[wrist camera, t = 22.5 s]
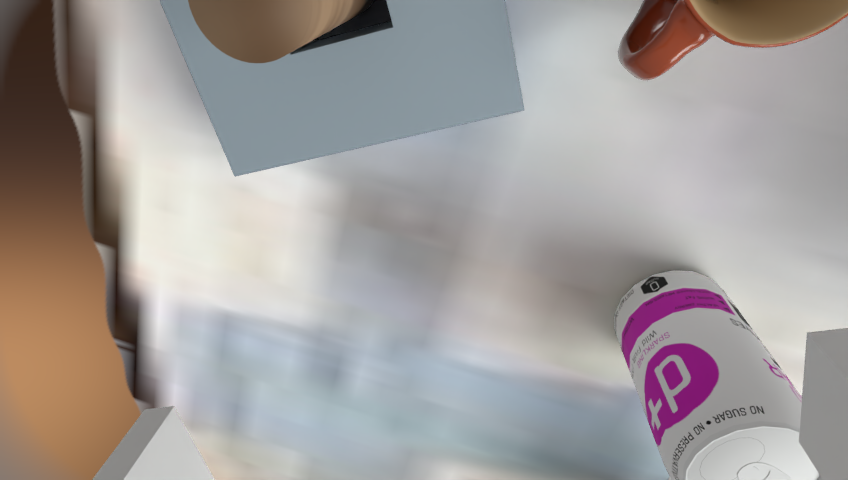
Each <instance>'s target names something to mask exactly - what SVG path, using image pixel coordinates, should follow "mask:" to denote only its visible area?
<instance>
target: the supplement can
mask: <svg viewBox="0 0 848 480" xmlns="http://www.w3.org/2000/svg"><path fill="white" fill-rule="evenodd" d="M614 330H615V333H616V335H617V338H618V341H619V343H620V346H621V349H622V352H623V354H624V357H625V360H626V362H627V365H628V368H629V371H630V373H631V376H632V379H633V381H634V384H635V387H636V390H637V392H638V395H639V398H640V400H641V403H642V406H643V409H644V411H645V414H646V417H647V419H648V422H649V425H650V428H651V430H652V433H653V436H654V438H655V441H656V444H657V447H658V449H659V452H660V455H661V457H662V460H663V463H664V465H665V467H666V470H667V472H668V474H669V476H670V478H671V480H823V479H822V478H821V476H820V474H819V473H818V471H817V470H816V468H815V467H814V465H813V463H812V462H811V460H810V459H809V457H808V456H807V454H806V452H805V451H804V449H803V448H802V446H801V445H800V443H799V432H800V419H801V406H802V397H801V395H800V394H799V392H798V391H797V390H796V388H795V387H794V386H793V384H792V383H791V382H790V380H789V379H788V377H787V376H786V375H785V373H784V372H783V371H782V369H781V368H780V367H779V365H778V364H777V362H776V361H775V360H774V358H773V357H772V356H771V354H770V353H769V352H768V350H767V349H766V347H765V346H764V345H763V343H762V342H761V341H760V339H759V338H758V337H757V335H756V334H755V332H754V331H753V330H752V328H751V327H750V326H749V324H748V323H747V321H746V320H745V319H744V317H743V316H742V315H741V313H740V312H739V311H738V309H737V308H736V306H735V305H734V304H733V302H732V301H731V300H730V298H729V297H728V296H727V294H726V293H725V291H724V290H723V289H722V288H721V287H720V286H719V285H718V284H717V283H716V282H714V281H713V280H712V279H711V278H709V277H706V276H704V275H701V274H699V273H696V272H694V271H678V270H672V271H667V272H663V273H659V274H654V275H651V276H650V277H648V278H646V279H644V280H642V281H641V282H639V283H637V284H635V285H634V286H633V287H632V288H631V289H630V290H629V291H628V292H627V293H626V294H625V295H624V296H623V297H622V298H621V300H620V303H619V305H618V307H617V309H616V312H615V314H614Z"/></svg>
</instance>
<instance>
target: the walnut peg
mask: <svg viewBox="0 0 848 480" xmlns="http://www.w3.org/2000/svg"><path fill="white" fill-rule="evenodd" d="M373 1H374V0H188V3H189V7H190V10H191V12H192V15H193V17H194V19H195V22H196V24H197V25H198V27H199V28H200V30H201V32H202V33H203V34H204V35H205V37H206V38H207V39H208V40H209V41H210V42H211V43H212V44H213V45H214V46H215V47H216V48H218V49H219V50H220V51H222V52H223V53H225V54H226V55H228V56H230V57H232V58H234V59H237V60H240V61H243V62H248V63H267V62H272V61H275V60H278V59H280V58H282V57H284V56H285V55H287V54H289V53H291V52H293V51H294V50H296V49H298V48H300V47H302V46H303V45H305V44H307V43H309V42H311V41H312V40H314V39H316V38H318V37H320V36H321V35H323V34H325V33H327V32H329V31H330V30H332V29H334V28H336V27H337V26H339V25H341V24H343V23H345V22H346V21H348V20H350V19H352V18H354V17H355V16H357V15H359V14H361V13H363V12H364V11H365V10H367V9H368V8H369V7H370V6H371V4H372V3H373Z"/></svg>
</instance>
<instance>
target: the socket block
mask: <svg viewBox="0 0 848 480" xmlns="http://www.w3.org/2000/svg"><path fill="white" fill-rule="evenodd" d="M386 1H387V5H388V9H389V13H390V17H391V20H392V21H389V22H385V23H382V24H378V25H374V26H371V27H367V28H363V29H359V30H356V31H352V32H348V33H345V34H341V35H337V36H333V37H330V38H326V39H322V40H319V41H315V42H313V40H312V41H311V42H309V43H307V44H305V45H303V46H302V47H300V48H298V49H296V50H294V51H293V52H291V53H289V54H287V55H285V56H284V57H282V58H280V59H278V60H275V61H272V62H267V63H248V62H243V61H240V60H237V59H234V58H232V57H230V56H228V55H226V54H225V53H223V52H222V51H220V50H219V49H218V48H216V47H215V46H214V45H213V44H212V43H211V42H210V41H209V40H208V39H207V38H206V37H205V35H204V34H203V33H202V32H201V30H200V28H199V27H198V25H197V24H196V22H195V19H194V17H193V15H192V12H191V10H190V7H189V3H188V0H160V2H161V5H162V7H163V9H164V12H165V14H166V16H167V19H168V21H169V24H170V26H171V28H172V31H173V33H174V35H175V38H176V40H177V42H178V45H179V47H180V49H181V52H182V54H183V56H184V59H185V61H186V63H187V66H188V68H189V70H190V73H191V75H192V77H193V80H194V82H195V84H196V87H197V89H198V92H199V94H200V96H201V99H202V101H203V103H204V106H205V108H206V110H207V113H208V115H209V117H210V120H211V122H212V124H213V127H214V129H215V131H216V134H217V136H218V138H219V141H220V143H221V145H222V148H223V150H224V152H225V155H226V157H227V160H228V162H229V164H230V167H231V169H232V171H233V174H234V176H239V175H244V174H248V173H252V172H257V171H261V170H266V169H270V168H274V167H279V166H283V165H287V164H292V163H296V162H301V161H305V160H309V159H314V158H318V157H322V156H327V155H331V154H336V153H340V152H344V151H349V150H353V149H357V148H362V147H366V146H371V145H375V144H379V143H384V142H388V141H392V140H397V139H401V138H406V137H410V136H414V135H419V134H423V133H427V132H432V131H436V130H441V129H445V128H449V127H454V126H458V125H462V124H467V123H471V122H476V121H480V120H484V119H489V118H493V117H497V116H502V115H506V114H511V113H515V112H519V111H524V105H523V99H522V94H521V88H520V82H519V77H518V71H517V66H516V60H515V54H514V49H513V43H512V37H511V32H510V26H509V21H508V15H507V9H506V4H505V0H386Z"/></svg>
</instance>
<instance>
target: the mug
mask: <svg viewBox="0 0 848 480" xmlns="http://www.w3.org/2000/svg"><path fill="white" fill-rule="evenodd" d="M847 16H848V0H644V1H643V3H642V5H641V7H640V9H639V11H638V13H637V15H636V17H635V18H634V20H633V22H632V23H631V25H630V26H629V28H628V29H627V31H626V33H625V34H624V36H623V38H622V40H621V43H620V46H619V50H618V57H619V61H620V63H621V64H622V66H623V67H624V68H625V69H626V70H627V71H628V72H629V73H630V74H632V75H633V76H634V77H636V78H638V79H641V80H651V79H654V78H656V77H658V76H660V75H662V74H663V73H665V72H666V71H668V70H669V69H670V68H671V67H673V66H674V65H675V64H676V63H677V62H678V61H680V60H681V59H682V58H683V57H684V56H685V55H686V54H688V53H689V52H691V51H692V50H694V49H696V48H697V47H699V46H701V45H702V44H704V43H705V42H706V41H707V40H708V39H710V38H711V37H712V36H714V35H716V36H717V37H719V38H720V39H722V40H724V41H725V42H728V43H730V44H733V45H737V46H744V47H761V48H763V47H777V46H784V45H788V44H792V43H796V42H799V41H802V40H805V39H808V38H810V37H813V36H815V35H817V34H819V33H821V32H823V31H825V30H827V29H829V28H830V27H832V26H834V25H835V24H837V23H838V22H840V21H841V20H843V19H844V18H845V17H847Z"/></svg>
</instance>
